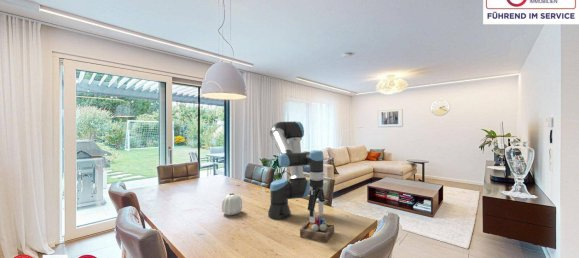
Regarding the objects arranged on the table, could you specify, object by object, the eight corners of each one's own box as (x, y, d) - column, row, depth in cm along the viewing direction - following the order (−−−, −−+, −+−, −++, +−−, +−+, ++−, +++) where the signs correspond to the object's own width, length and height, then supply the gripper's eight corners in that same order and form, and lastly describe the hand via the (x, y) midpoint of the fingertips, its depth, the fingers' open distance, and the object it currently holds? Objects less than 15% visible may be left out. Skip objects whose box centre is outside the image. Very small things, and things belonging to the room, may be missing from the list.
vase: (217, 215, 160) (217, 195, 159) (230, 208, 172) (229, 190, 172) (234, 218, 154) (234, 197, 154) (246, 211, 167) (246, 192, 167)
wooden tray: (300, 236, 126) (299, 229, 126) (309, 227, 138) (309, 220, 138) (326, 242, 119) (326, 234, 119) (334, 232, 131) (334, 224, 131)
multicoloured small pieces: (308, 226, 132) (307, 213, 132) (325, 225, 133) (324, 212, 133) (310, 233, 124) (310, 219, 124) (328, 232, 124) (328, 218, 124)
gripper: (314, 185, 115) (315, 227, 116) (330, 174, 138) (330, 210, 138) (300, 183, 119) (301, 225, 119) (317, 173, 141) (318, 208, 142)
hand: (316, 217), depth 129 cm, fingers open, 13 cm apart
